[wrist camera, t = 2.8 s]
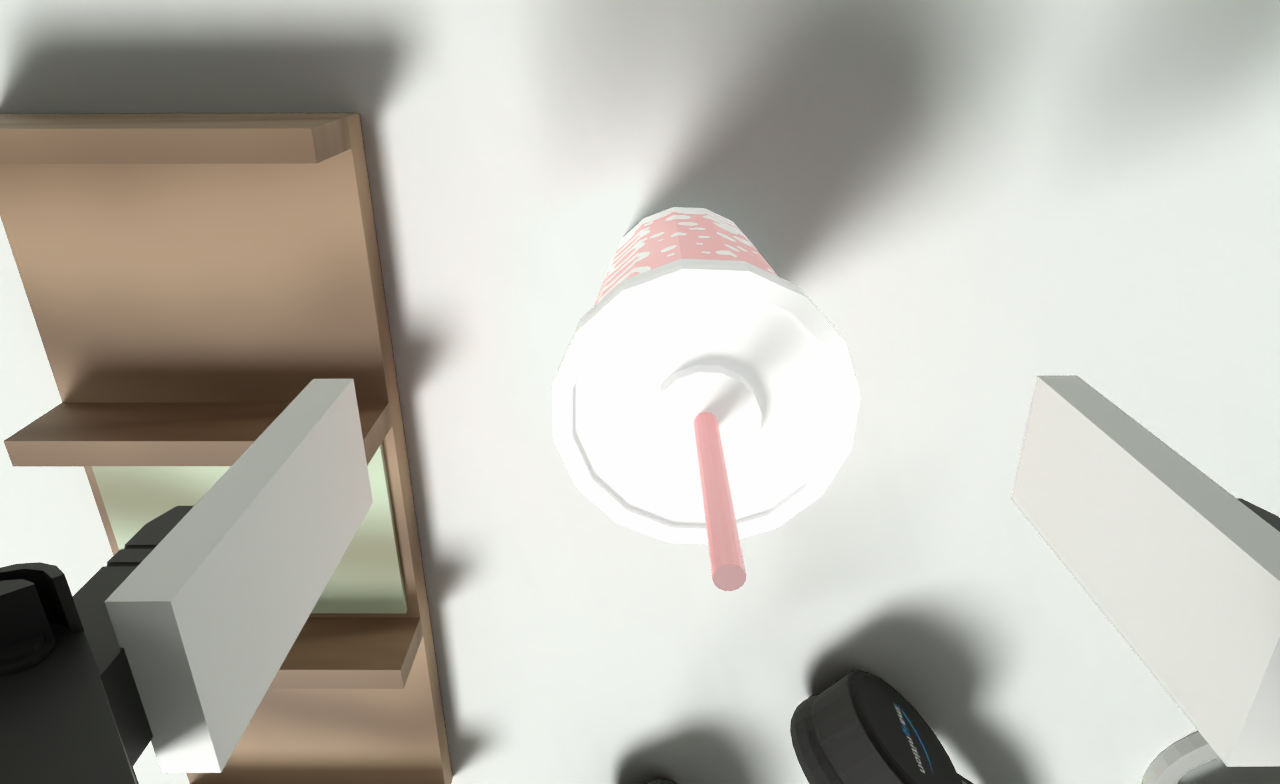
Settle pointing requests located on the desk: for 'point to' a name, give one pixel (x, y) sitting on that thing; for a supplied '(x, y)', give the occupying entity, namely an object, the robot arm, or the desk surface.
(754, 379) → the beverage cup
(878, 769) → the headset
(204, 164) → the slot rack
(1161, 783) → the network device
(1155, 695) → the desk surface
